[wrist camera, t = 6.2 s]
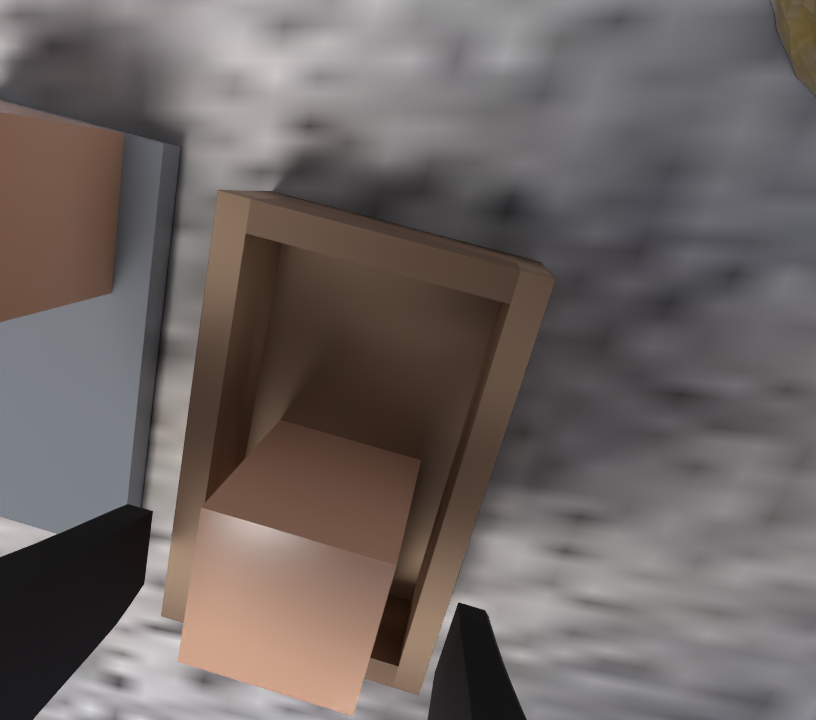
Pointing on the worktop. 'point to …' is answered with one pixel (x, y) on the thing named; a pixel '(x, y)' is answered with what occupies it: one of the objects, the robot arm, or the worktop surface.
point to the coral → (798, 36)
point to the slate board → (90, 367)
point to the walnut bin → (359, 379)
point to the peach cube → (298, 565)
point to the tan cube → (55, 210)
